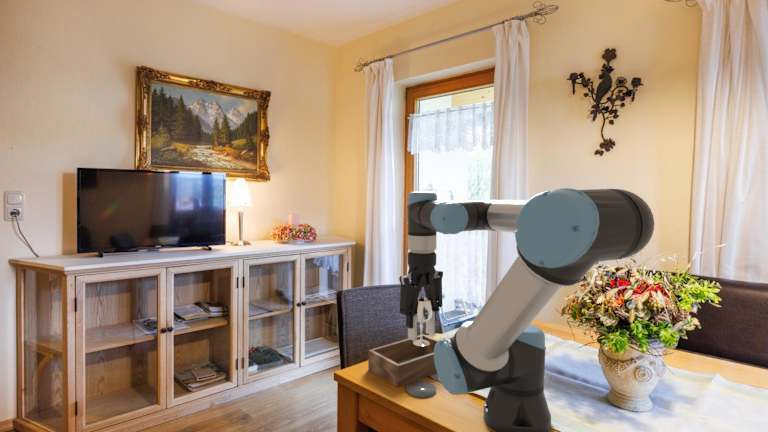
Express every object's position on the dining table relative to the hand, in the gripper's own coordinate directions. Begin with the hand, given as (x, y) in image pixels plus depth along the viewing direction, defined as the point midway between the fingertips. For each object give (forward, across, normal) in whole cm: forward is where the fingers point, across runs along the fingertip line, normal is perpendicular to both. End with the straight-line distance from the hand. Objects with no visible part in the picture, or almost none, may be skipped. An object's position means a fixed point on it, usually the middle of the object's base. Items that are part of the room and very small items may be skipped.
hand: (421, 336), depth 116 cm
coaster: (+15, 0, 0) cm, 15 cm away
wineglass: (+2, 0, 0) cm, 2 cm away
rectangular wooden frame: (+15, -7, -12) cm, 20 cm away
